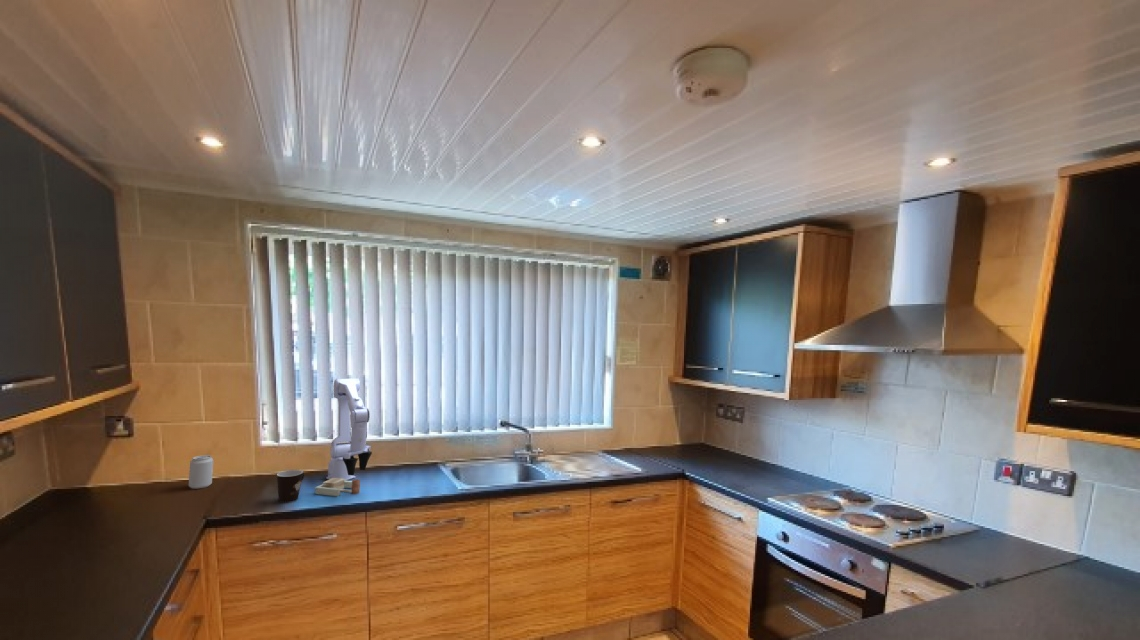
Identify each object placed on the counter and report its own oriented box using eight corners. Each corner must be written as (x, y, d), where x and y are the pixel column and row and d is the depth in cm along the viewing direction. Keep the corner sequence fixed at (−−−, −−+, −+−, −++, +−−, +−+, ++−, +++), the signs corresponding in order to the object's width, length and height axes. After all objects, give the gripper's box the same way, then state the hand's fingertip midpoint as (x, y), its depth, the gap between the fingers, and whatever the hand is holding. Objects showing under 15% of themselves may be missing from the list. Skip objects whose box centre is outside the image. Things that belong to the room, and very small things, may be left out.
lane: (314, 493, 185) (315, 487, 186) (333, 485, 196) (333, 479, 196) (337, 496, 184) (338, 489, 184) (355, 487, 194) (355, 481, 195)
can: (184, 487, 187) (186, 457, 187) (204, 482, 194) (206, 453, 194) (195, 490, 184) (197, 460, 184) (216, 485, 191) (217, 455, 191)
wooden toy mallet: (322, 492, 187) (323, 479, 187) (333, 487, 194) (333, 475, 194) (353, 495, 185) (354, 483, 185) (363, 490, 191) (364, 478, 191)
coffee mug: (282, 505, 172) (284, 478, 173) (270, 500, 177) (272, 473, 177) (313, 496, 182) (315, 471, 183) (301, 492, 187) (303, 467, 187)
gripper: (356, 443, 181) (354, 478, 181) (377, 435, 196) (376, 468, 195) (340, 441, 183) (338, 476, 182) (362, 434, 197) (360, 466, 196)
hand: (356, 472), depth 189 cm, fingers open, 7 cm apart
